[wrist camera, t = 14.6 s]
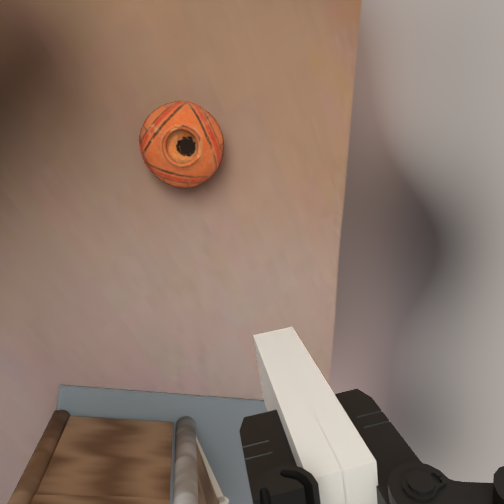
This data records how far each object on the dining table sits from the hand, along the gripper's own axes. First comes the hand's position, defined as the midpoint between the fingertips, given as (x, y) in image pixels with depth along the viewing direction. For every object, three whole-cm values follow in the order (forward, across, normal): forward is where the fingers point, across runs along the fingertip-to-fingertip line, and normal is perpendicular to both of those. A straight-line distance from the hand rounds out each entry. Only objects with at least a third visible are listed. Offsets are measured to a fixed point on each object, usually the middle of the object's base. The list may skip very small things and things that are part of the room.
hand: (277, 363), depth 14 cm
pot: (+30, -2, +9) cm, 31 cm away
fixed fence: (+29, -15, -22) cm, 39 cm away
